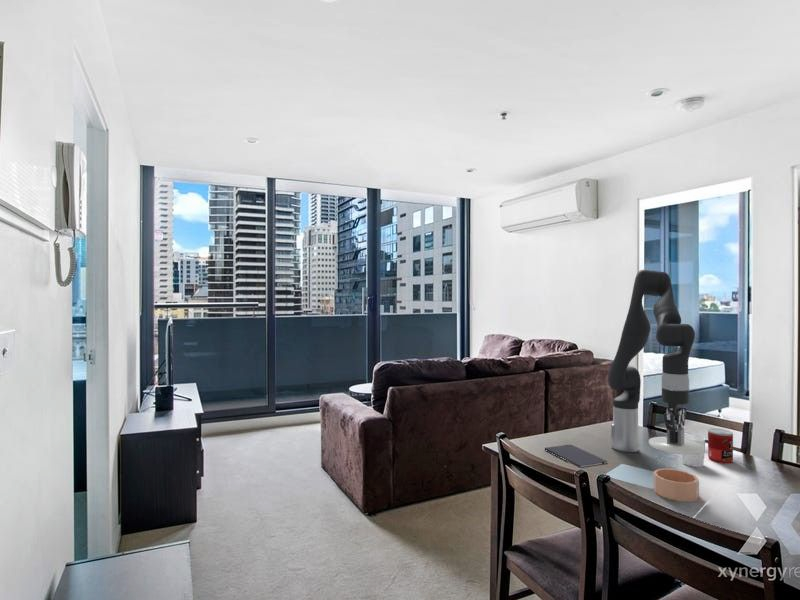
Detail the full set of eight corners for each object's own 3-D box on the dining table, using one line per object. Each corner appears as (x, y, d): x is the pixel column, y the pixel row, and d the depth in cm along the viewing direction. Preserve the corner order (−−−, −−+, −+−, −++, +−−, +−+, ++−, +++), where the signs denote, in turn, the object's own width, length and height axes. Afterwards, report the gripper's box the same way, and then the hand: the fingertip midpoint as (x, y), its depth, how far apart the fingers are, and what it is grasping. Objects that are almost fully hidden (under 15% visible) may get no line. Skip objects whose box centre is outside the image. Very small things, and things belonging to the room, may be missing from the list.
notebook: (544, 451, 192) (580, 470, 172) (544, 447, 192) (580, 465, 172) (570, 448, 196) (608, 465, 176) (570, 444, 196) (608, 461, 176)
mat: (603, 476, 164) (603, 475, 164) (621, 464, 175) (621, 463, 175) (652, 490, 152) (652, 489, 152) (669, 476, 163) (669, 475, 163)
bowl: (648, 494, 149) (648, 475, 149) (661, 483, 158) (661, 465, 158) (691, 506, 141) (691, 486, 141) (702, 494, 149) (702, 475, 149)
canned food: (725, 465, 173) (725, 435, 173) (703, 458, 180) (703, 429, 180) (737, 461, 177) (737, 432, 177) (715, 455, 184) (715, 427, 184)
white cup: (709, 468, 170) (709, 441, 170) (685, 467, 172) (685, 439, 172) (700, 461, 178) (699, 434, 178) (677, 459, 179) (676, 433, 179)
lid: (641, 446, 149) (641, 428, 149) (658, 436, 160) (658, 419, 160) (695, 458, 138) (695, 438, 138) (709, 446, 149) (709, 427, 149)
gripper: (669, 382, 156) (669, 434, 157) (654, 388, 147) (654, 444, 147) (695, 385, 151) (695, 439, 151) (681, 392, 141) (681, 449, 141)
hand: (675, 441), depth 149 cm, fingers closed on lid, 3 cm apart
